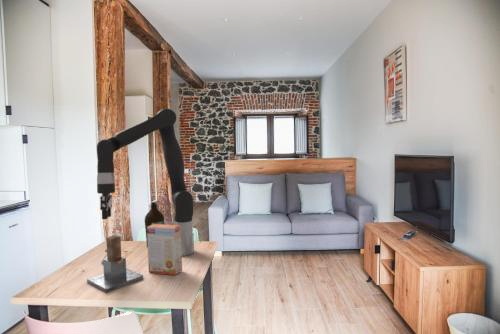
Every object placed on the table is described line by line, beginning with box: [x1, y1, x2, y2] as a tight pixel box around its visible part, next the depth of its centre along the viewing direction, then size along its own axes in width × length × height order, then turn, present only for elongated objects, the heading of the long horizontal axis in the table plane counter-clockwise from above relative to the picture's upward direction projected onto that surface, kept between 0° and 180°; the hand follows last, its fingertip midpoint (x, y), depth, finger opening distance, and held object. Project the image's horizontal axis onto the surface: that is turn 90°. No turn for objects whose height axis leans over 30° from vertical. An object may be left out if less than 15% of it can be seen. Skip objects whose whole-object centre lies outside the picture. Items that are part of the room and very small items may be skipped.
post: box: [105, 234, 122, 261], centre depth 129 cm, size 4×4×17 cm
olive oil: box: [144, 201, 165, 248], centre depth 175 cm, size 11×11×25 cm
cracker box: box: [147, 224, 183, 276], centre depth 138 cm, size 14×6×21 cm, turn 71°
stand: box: [86, 255, 144, 294], centre depth 130 cm, size 16×16×10 cm
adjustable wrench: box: [101, 247, 107, 265], centre depth 161 cm, size 25×6×2 cm, turn 9°
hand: (106, 218), depth 142 cm, fingers open, 8 cm apart
